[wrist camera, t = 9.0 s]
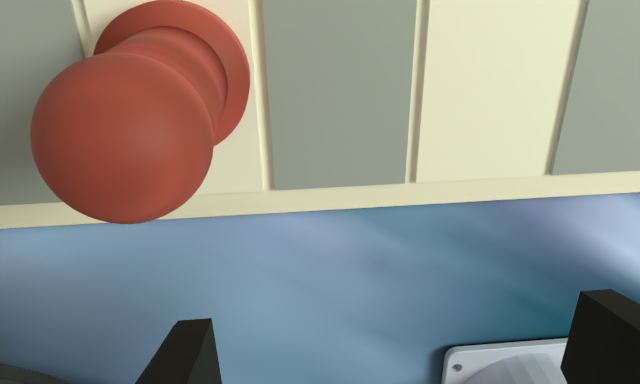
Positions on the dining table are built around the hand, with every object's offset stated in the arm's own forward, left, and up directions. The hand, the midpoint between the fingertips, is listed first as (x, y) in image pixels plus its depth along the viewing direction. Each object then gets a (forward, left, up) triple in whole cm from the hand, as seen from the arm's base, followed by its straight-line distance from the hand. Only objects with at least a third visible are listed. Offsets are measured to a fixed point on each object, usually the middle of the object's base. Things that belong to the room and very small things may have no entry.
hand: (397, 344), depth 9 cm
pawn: (+4, +5, -8) cm, 10 cm away
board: (+4, 0, -9) cm, 10 cm away
